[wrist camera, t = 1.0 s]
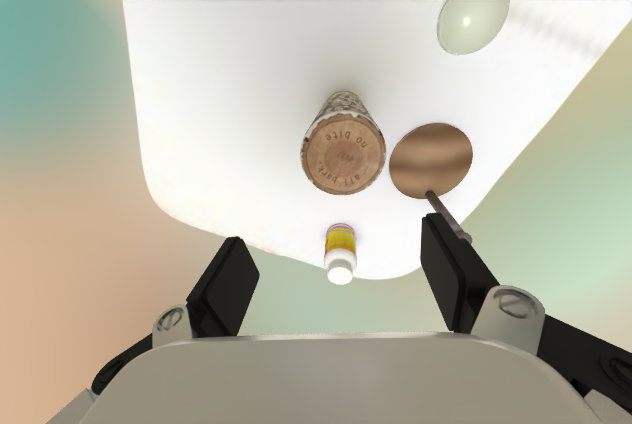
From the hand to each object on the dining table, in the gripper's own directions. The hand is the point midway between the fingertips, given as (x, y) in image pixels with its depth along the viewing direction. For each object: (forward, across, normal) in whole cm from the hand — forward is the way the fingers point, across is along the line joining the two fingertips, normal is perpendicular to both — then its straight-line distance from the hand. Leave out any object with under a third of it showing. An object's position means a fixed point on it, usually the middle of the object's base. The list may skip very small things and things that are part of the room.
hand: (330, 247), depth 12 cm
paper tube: (+34, -1, -1) cm, 34 cm away
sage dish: (+34, -20, -10) cm, 40 cm away
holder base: (+33, -15, +11) cm, 38 cm away
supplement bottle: (+33, +3, +25) cm, 42 cm away
